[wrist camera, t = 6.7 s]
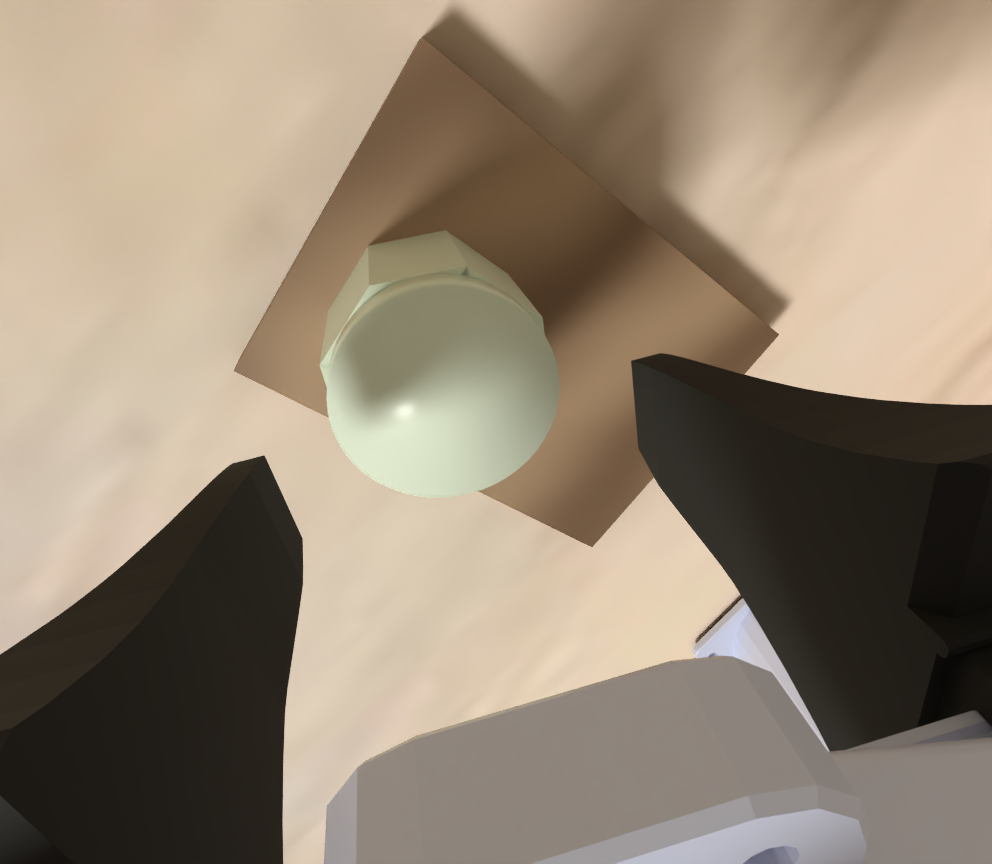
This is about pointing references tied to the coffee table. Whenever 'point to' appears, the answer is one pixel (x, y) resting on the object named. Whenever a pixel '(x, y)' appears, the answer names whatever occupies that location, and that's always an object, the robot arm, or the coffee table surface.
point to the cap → (436, 368)
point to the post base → (532, 266)
